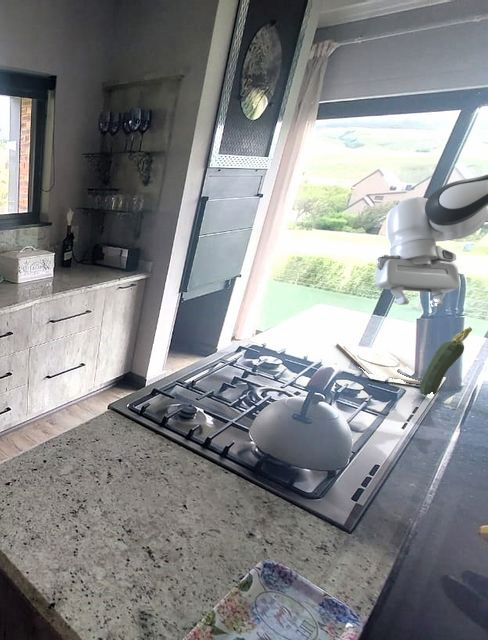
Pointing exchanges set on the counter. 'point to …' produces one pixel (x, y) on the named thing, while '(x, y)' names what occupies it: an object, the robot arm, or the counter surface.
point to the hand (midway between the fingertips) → (419, 305)
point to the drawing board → (376, 361)
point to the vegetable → (442, 362)
